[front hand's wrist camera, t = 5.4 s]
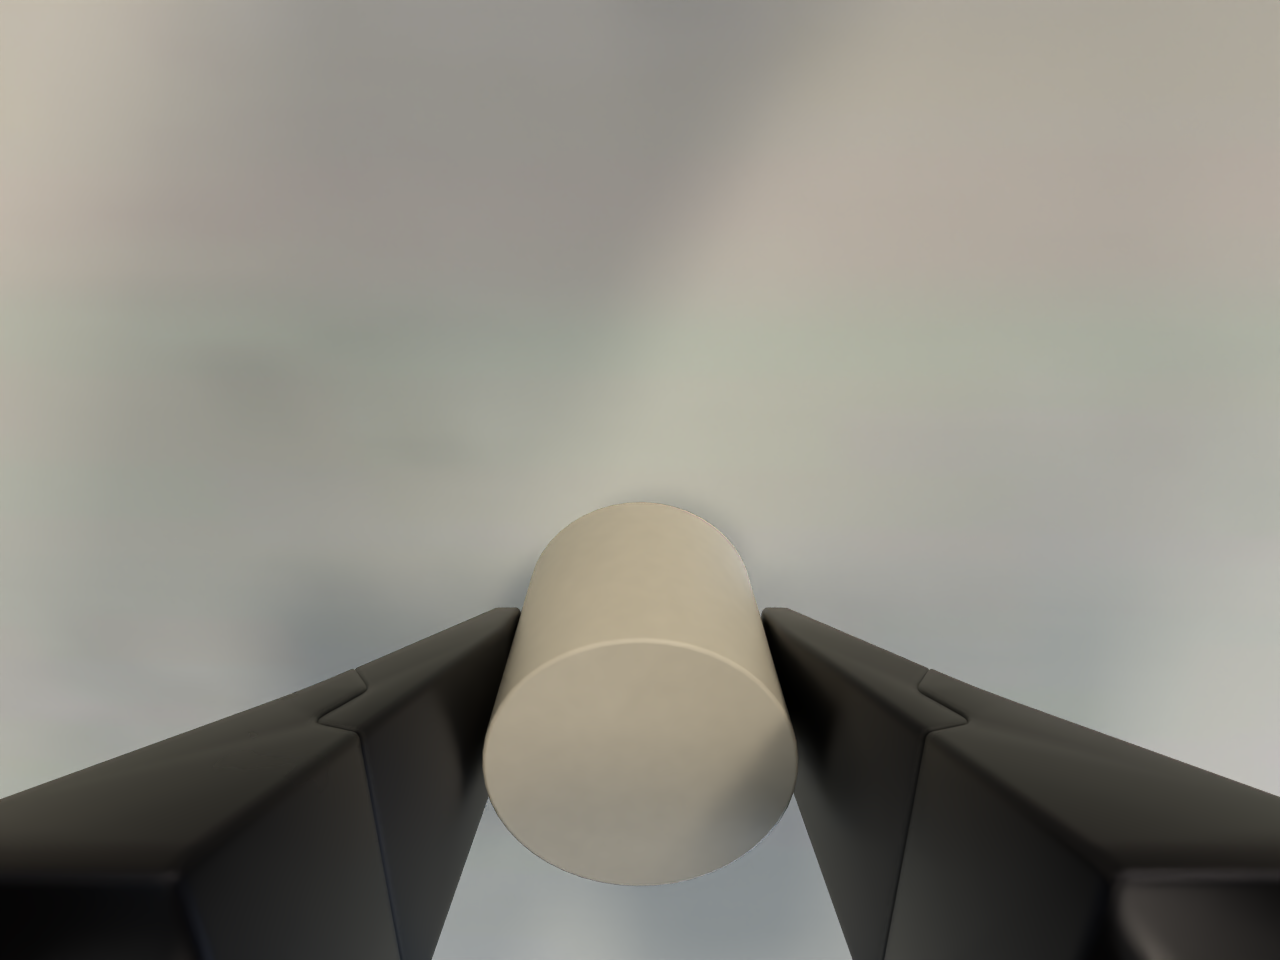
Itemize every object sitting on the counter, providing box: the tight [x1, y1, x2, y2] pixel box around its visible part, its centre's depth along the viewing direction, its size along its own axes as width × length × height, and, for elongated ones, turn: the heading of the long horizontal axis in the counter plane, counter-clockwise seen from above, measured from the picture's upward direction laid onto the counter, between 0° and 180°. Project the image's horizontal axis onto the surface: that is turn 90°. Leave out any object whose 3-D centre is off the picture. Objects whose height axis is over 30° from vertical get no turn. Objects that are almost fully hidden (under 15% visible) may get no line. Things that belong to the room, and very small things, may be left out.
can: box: [482, 502, 799, 886], centre depth 11 cm, size 4×4×4 cm
